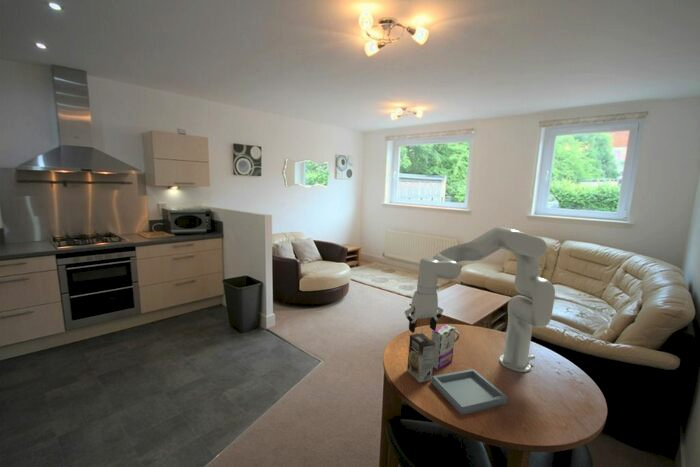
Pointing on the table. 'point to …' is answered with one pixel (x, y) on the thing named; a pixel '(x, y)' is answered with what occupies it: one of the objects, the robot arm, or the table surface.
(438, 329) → the candy bar box
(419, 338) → the coffee box
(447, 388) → the tray
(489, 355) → the table surface
